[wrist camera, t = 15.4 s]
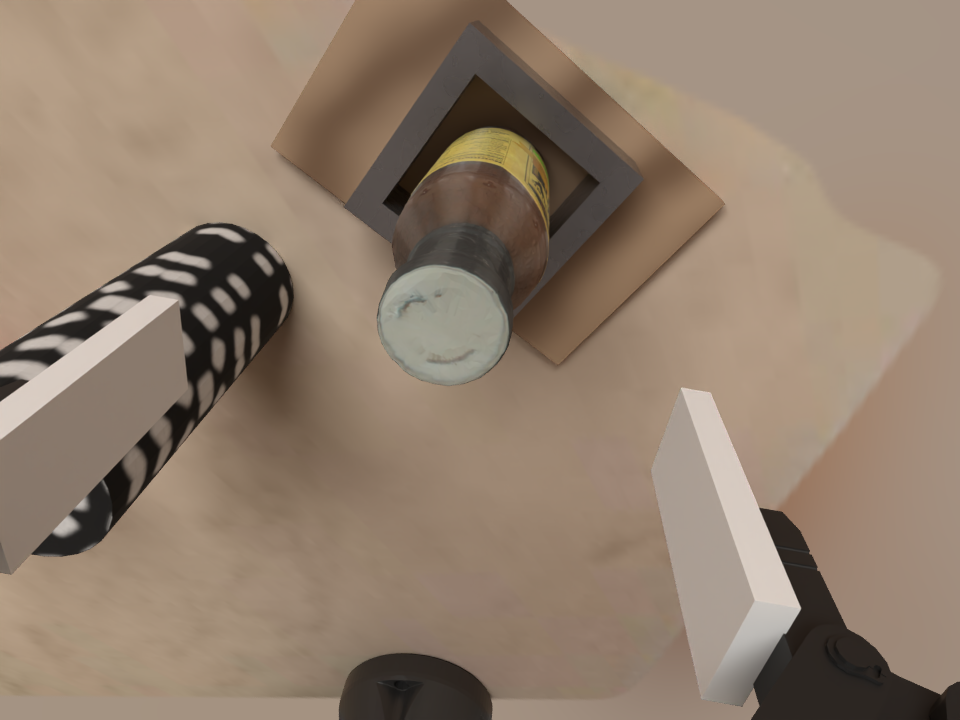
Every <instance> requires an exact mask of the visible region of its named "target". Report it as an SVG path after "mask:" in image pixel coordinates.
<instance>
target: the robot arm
mask: <svg viewBox="0 0 960 720" xmlns="http://www.w3.org/2000/svg"><path fill="white" fill-rule="evenodd" d="M187 389H188V383H187V374H186V364H185V355H184V345H183V336H182V327H181V317H180V308H179V300H176V299H170V298H165V297H159V296H153V295H149V296H147V297H146V298H145V299H143V300H142V301H140V302H139V303H138V304H136V305H135V306H133V307H132V308H131V309H129V310H128V311H126V312H125V313H124V314H122V315H121V316H119V317H118V318H117V319H115V320H114V321H112V322H111V323H110V324H108V325H107V326H106V327H104V328H103V329H101V330H100V331H99V332H97V333H96V334H94V335H93V336H92V337H90V338H89V339H87V340H86V341H85V342H83V343H82V344H80V345H79V346H78V347H76V348H75V349H73V350H72V351H71V352H69V353H68V354H66V355H65V356H64V357H62V358H61V359H59V360H58V361H57V362H55V363H54V364H52V365H51V366H50V367H48V368H47V369H45V370H44V371H43V372H41V373H40V374H38V375H37V376H36V377H34V378H33V379H31V380H30V381H29V380H23V379H20V380H17V381H15V382H12V383H10V384H7V385H5V386H2V387H0V573H5V574H10V575H12V574H13V573H14V571H15V570H16V569H17V568H18V567H19V566H20V565H21V564H22V563H23V562H24V561H25V560H26V559H27V558H28V557H29V556H30V555H31V554H32V553H33V551H34V550H35V549H36V548H37V547H38V546H39V545H40V544H41V543H42V542H43V541H44V540H45V539H46V538H47V537H48V536H49V535H50V534H51V533H52V531H53V530H54V529H55V528H56V527H57V526H58V525H59V524H60V523H61V522H62V521H63V520H64V519H65V518H66V517H67V516H68V515H69V514H70V513H71V512H72V510H73V509H74V508H75V507H76V506H77V505H78V504H79V503H80V502H81V501H82V500H83V499H84V498H85V497H86V496H87V495H88V494H89V493H90V492H91V490H92V489H93V488H94V487H95V486H96V485H97V484H98V483H99V482H100V481H101V480H102V479H103V478H104V477H105V476H106V475H107V474H108V473H109V472H110V470H111V469H112V468H113V467H114V466H115V465H116V464H117V463H118V462H119V461H120V460H121V459H122V458H123V457H124V456H125V455H126V454H127V453H128V452H129V450H130V449H131V448H132V447H133V446H134V445H135V444H136V443H137V442H138V441H139V440H140V439H141V438H142V437H143V436H144V435H145V434H146V433H147V432H148V431H149V429H150V428H151V427H152V426H153V425H154V424H155V423H156V422H157V421H158V420H159V419H160V418H161V417H162V416H163V415H164V414H165V413H166V412H167V411H168V409H169V408H170V407H171V406H172V405H173V404H174V403H175V402H176V401H177V400H178V399H179V398H180V397H181V396H182V395H183V394H184V393H185V392H186V391H187ZM651 473H652V478H653V482H654V487H655V492H656V496H657V501H658V505H659V510H660V514H661V519H662V523H663V528H664V532H665V537H666V542H667V546H668V551H669V555H670V560H671V564H672V569H673V573H674V578H675V582H676V587H677V591H678V596H679V601H680V605H681V610H682V614H683V619H684V623H685V628H686V632H687V637H688V641H689V646H690V650H691V655H692V660H693V664H694V668H695V673H696V678H697V682H698V687H699V691H700V696H701V699H703V700H708V701H713V702H719V703H724V704H730V705H735V706H741V707H742V706H743V704H744V703H745V701H746V699H747V698H748V696H749V694H750V693H751V691H752V689H753V688H754V689H755V692H756V696H757V699H758V702H759V705H760V707H759V708H758V710H757V711H756V713H755V714H754V716H753V717H752V719H751V720H960V682H956V683H954V684H953V685H951V686H949V687H948V688H947V689H946V690H945V691H944V693H943V694H942V695H940V694H938V693H935V692H933V691H931V690H929V689H926V688H924V687H922V686H920V685H917V684H915V683H913V682H910V681H908V680H906V679H904V678H901V677H899V676H897V675H896V674H894V673H892V672H891V671H890V669H889V667H888V664H887V662H886V661H885V660H884V658H883V657H882V656H881V654H880V653H879V652H878V651H877V649H876V648H875V647H873V646H872V645H871V644H870V643H869V642H867V641H866V640H865V639H864V638H863V637H861V636H859V635H857V634H855V633H854V632H852V631H850V630H848V629H847V627H846V625H845V623H844V621H843V619H842V617H841V615H840V613H839V611H838V609H837V607H836V605H835V602H834V600H833V598H832V596H831V594H830V592H829V590H828V588H827V586H826V584H825V582H824V580H823V578H822V575H821V573H820V572H819V571H817V565H816V563H815V561H814V559H813V557H812V555H810V554H809V552H810V550H809V548H808V546H807V544H806V542H805V540H804V538H803V536H802V534H801V532H800V530H799V529H798V528H797V527H796V526H795V525H794V524H793V523H792V522H791V521H790V520H789V519H788V518H787V516H786V515H785V514H784V513H783V512H780V511H774V510H769V509H763V508H759V507H758V505H757V502H756V500H755V497H754V495H753V493H752V490H751V488H750V486H749V483H748V481H747V478H746V476H745V474H744V471H743V469H742V466H741V464H740V462H739V459H738V457H737V455H736V452H735V450H734V447H733V445H732V443H731V440H730V438H729V436H728V433H727V431H726V428H725V426H724V424H723V421H722V419H721V416H720V414H719V412H718V409H717V407H716V405H715V402H714V400H713V397H712V395H711V393H710V392H704V391H698V390H692V389H687V388H680V391H679V394H678V397H677V400H676V402H675V405H674V408H673V411H672V413H671V416H670V419H669V422H668V424H667V427H666V430H665V433H664V435H663V438H662V441H661V444H660V446H659V449H658V452H657V455H656V457H655V460H654V463H653V466H652V468H651ZM491 718H492V702H491V698H490V696H489V694H488V692H487V691H486V689H485V688H484V686H483V685H482V684H481V683H480V682H479V681H478V680H477V679H476V678H474V677H473V676H472V675H471V674H469V673H468V672H466V671H465V670H463V669H461V668H459V667H457V666H455V665H453V664H451V663H448V662H446V661H443V660H440V659H436V658H432V657H428V656H422V655H414V654H392V655H385V656H380V657H376V658H373V659H370V660H368V661H366V662H364V663H362V664H360V665H359V666H357V667H356V668H355V669H354V670H353V671H352V672H351V673H350V674H349V676H348V678H347V680H346V683H345V686H344V689H343V693H342V696H341V700H340V705H339V720H492V719H491Z"/></svg>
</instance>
